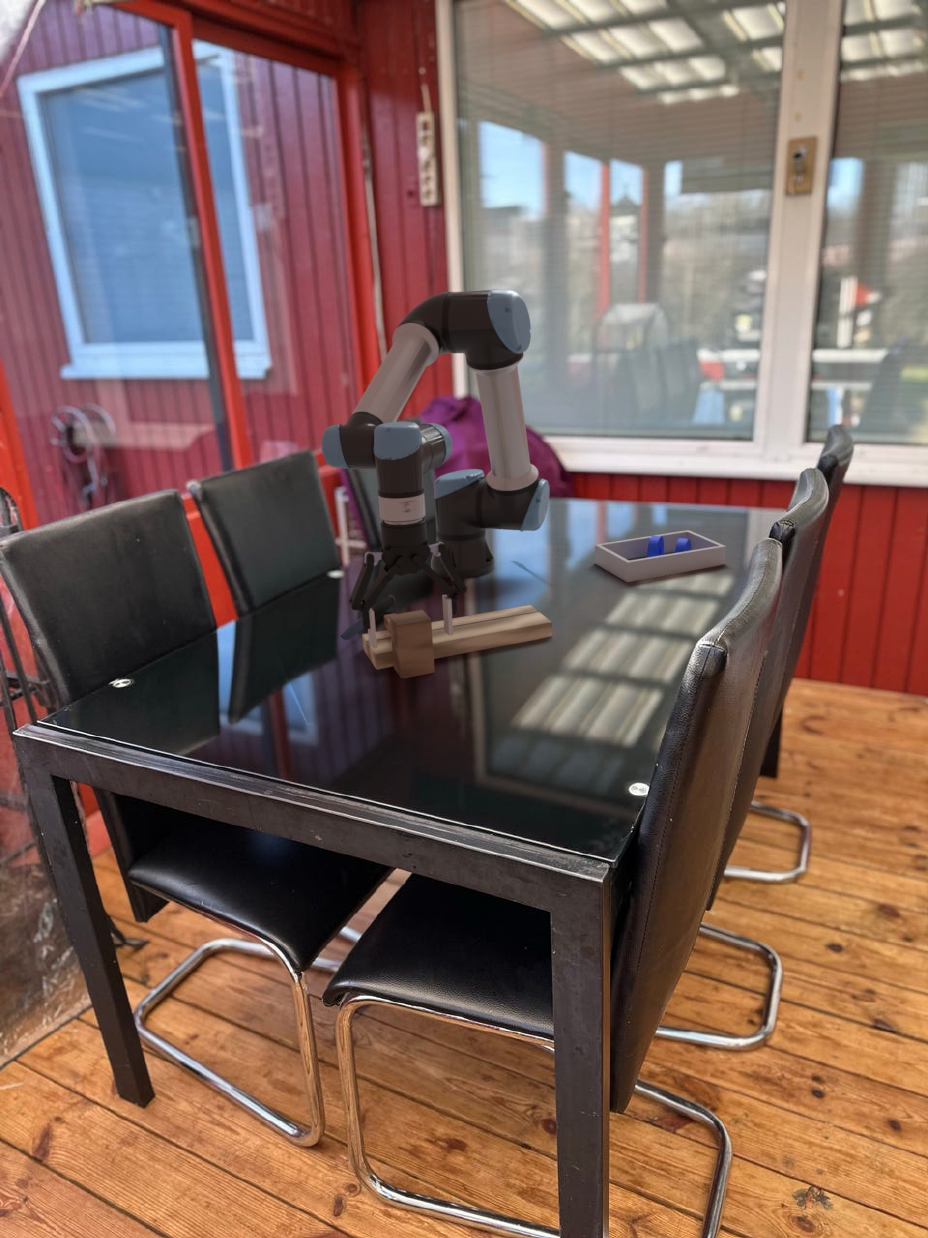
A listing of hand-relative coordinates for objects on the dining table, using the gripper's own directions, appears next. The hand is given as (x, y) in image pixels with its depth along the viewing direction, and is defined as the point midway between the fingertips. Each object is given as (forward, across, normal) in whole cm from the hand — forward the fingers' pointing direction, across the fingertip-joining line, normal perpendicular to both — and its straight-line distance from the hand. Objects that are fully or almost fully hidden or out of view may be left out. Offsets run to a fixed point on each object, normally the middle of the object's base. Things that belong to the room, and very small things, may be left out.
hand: (411, 639), depth 153 cm
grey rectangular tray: (+5, +68, +32) cm, 75 cm away
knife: (+6, -3, +21) cm, 22 cm away
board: (+6, +11, +8) cm, 15 cm away
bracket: (+8, +74, +34) cm, 82 cm away
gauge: (+6, 0, 0) cm, 6 cm away
